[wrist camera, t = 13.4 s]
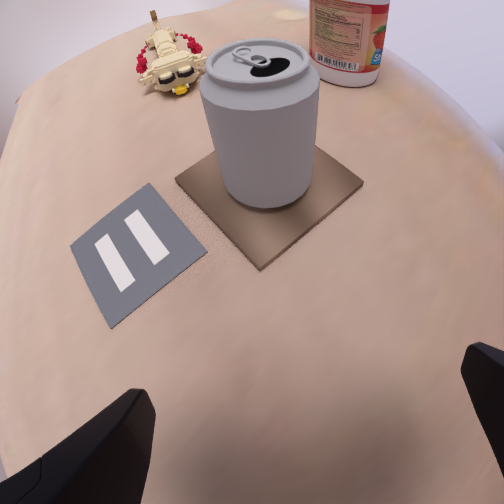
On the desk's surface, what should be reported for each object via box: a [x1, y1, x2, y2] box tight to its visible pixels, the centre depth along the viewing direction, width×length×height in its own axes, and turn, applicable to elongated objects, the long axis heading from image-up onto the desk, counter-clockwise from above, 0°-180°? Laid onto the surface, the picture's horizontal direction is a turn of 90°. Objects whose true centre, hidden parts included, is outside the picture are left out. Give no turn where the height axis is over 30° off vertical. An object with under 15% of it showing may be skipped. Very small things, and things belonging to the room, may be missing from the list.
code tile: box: [70, 183, 207, 329], centre depth 25 cm, size 10×10×1 cm
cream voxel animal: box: [136, 10, 207, 95], centre depth 36 cm, size 10×9×25 cm
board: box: [175, 145, 364, 271], centre depth 26 cm, size 12×12×1 cm
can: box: [199, 38, 320, 208], centre depth 20 cm, size 8×8×12 cm
